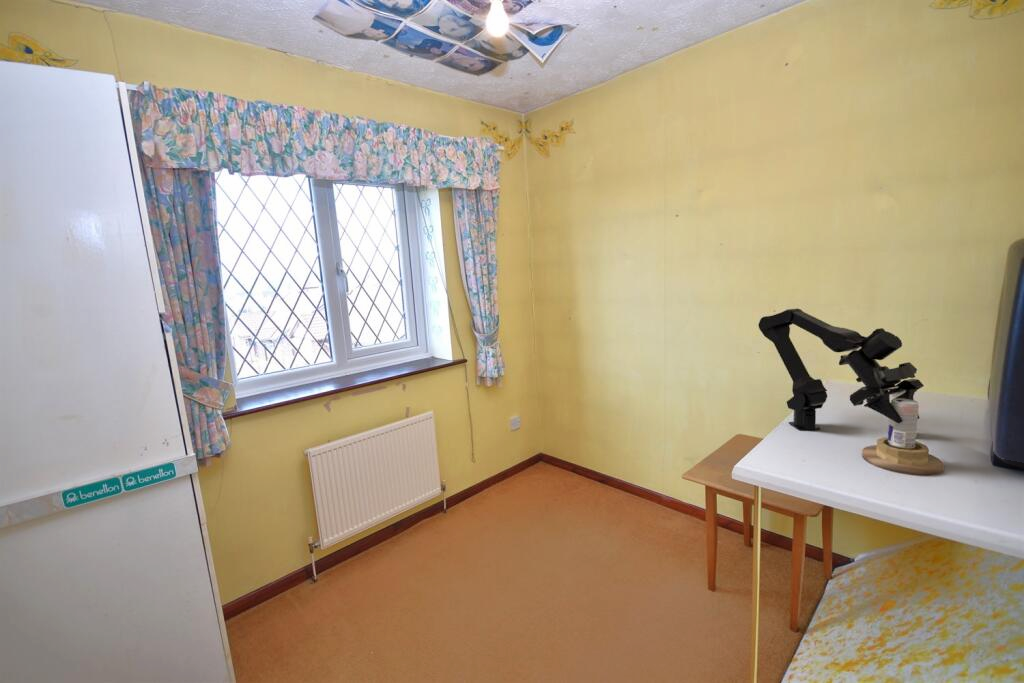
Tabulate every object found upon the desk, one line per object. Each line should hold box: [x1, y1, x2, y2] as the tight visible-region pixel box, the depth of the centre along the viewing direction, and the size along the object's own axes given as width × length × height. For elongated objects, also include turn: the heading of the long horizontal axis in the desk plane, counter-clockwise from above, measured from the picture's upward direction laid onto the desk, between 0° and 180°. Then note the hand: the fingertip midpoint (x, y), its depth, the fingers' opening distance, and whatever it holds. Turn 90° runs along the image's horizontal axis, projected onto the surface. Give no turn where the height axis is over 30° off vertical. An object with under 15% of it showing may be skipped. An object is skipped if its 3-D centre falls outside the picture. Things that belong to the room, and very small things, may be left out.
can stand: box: [861, 436, 945, 477], centre depth 115 cm, size 16×16×5 cm
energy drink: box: [887, 398, 920, 449], centre depth 114 cm, size 5×5×12 cm
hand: (909, 420), depth 112 cm, fingers closed on energy drink, 5 cm apart
